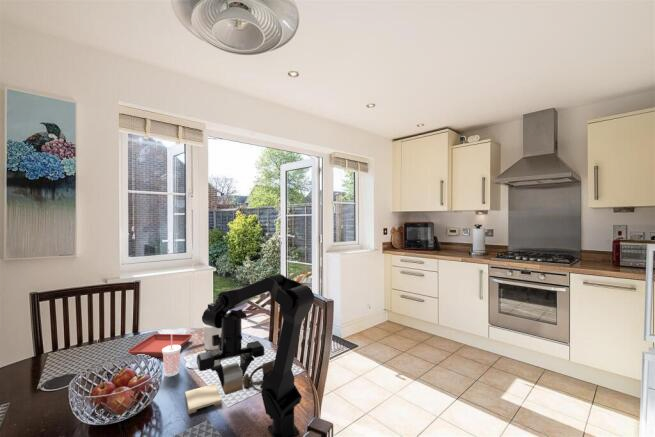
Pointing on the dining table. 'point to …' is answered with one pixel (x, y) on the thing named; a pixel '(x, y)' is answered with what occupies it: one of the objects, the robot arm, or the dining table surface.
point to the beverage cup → (171, 359)
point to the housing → (232, 378)
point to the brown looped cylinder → (264, 367)
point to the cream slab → (202, 397)
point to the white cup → (210, 336)
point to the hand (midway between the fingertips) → (231, 383)
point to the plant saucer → (159, 344)
